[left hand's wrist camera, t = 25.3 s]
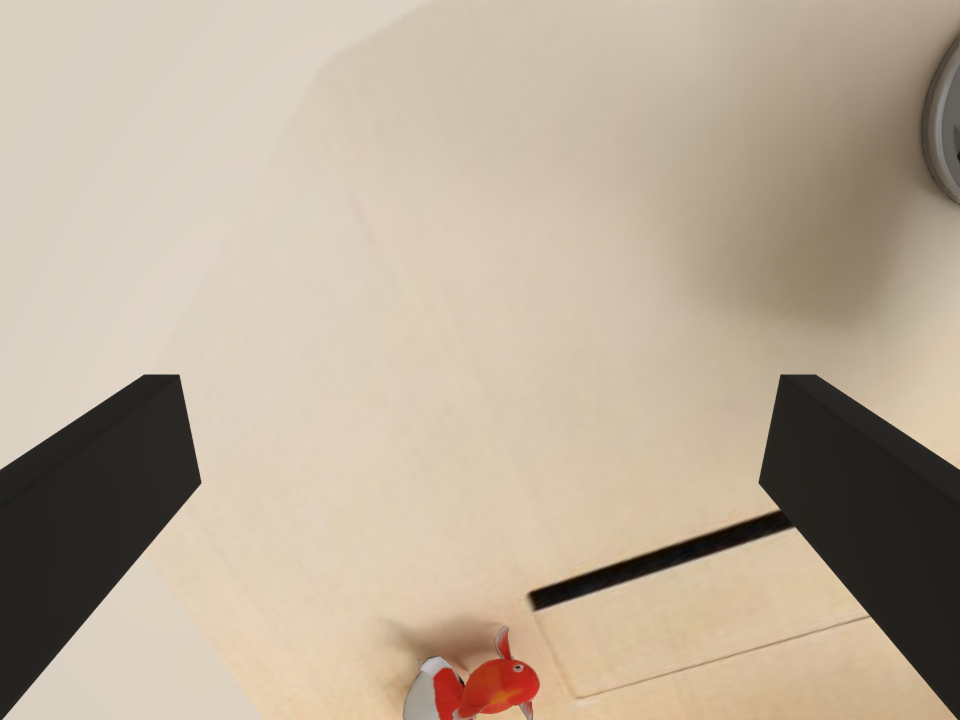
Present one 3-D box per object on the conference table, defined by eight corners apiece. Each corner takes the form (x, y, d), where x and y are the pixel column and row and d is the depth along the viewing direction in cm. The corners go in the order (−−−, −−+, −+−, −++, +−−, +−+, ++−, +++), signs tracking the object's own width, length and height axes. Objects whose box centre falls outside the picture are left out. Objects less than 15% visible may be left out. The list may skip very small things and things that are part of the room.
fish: (571, 734, 54) (528, 818, 45) (438, 703, 62) (380, 770, 53) (554, 625, 53) (508, 690, 45) (423, 608, 61) (362, 660, 53)
